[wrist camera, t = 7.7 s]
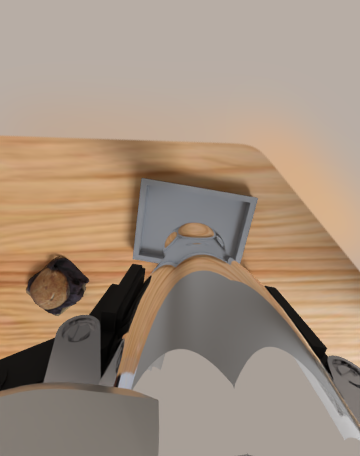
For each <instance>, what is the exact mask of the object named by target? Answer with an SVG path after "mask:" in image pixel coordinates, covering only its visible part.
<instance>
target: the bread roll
mask: <svg viewBox="0 0 360 456" xmlns="http://www.w3.org/2000/svg"><path fill="white" fill-rule="evenodd" d="M88 282H89V279H88V278H87V277H86V276H85V275H83V273H82V272H81V271H79V269H77V267H76V266H75V265H74V264H73V263H72V262H71V261H70V260H68V259H66V258H60V256H59V257H56V258H55V259H53V260H52V261H51V262H50V263H49V264H48V265H46V266H45V268H44V269H43V270H42V271H40V272H39V273H37V274H35V275H34V276H33V277H32V278H30V280H29V282H28V288H27V289H26V292H27V293H28V294H29V295H30V296H31V297H32V298H33V300H34V302H35V303H36V304H37V305H39V307H41V308H43V309H44V310H45V311H47V312H48V313H52V314H54V315H55V316H59V315H60V314H62V313H63V312H64V311H65V310H66V309H68V308H69V307H70V306H72V305H74V304H76V302H77V301H79V300H80V299H81V298H82V297H83V294H84V292H85V290H86V287H85V283H88Z"/></svg>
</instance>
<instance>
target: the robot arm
mask: <svg viewBox="0 0 360 456" xmlns="http://www.w3.org/2000/svg"><path fill="white" fill-rule="evenodd" d="M144 276H145V268H142V265H137V264H132V265H131V267H130V268H129V270H128V271H127V273H126V274H125V276H124V277H123V279H122V280H121V282H120V284H119V285H117V284H112V285H111V286H110V287H109V289H108V290H107V291H106V293H105V294H104V295H103V297H102V298H101V299H100V301H99V302H98V304H97V305H96V306H95V308H94V309H93V310H92V312H91V313H90V314H89V315H80V316H76V317H73V318H71V319H69V320H67V321H66V322H64V323H63V324H62V325H61V326H60V327H59V329H58V331H57V333H56V337H55V338H53V339H51V340H48V341H46V342H43V343H41V344H38V345H36V346H33V347H31V348H28V349H26V350H23V351H21V352H18V353H16V354H13V355H11V356H8V357H6V358H3V359H1V360H0V456H158V451H159V400H157V399H154V398H152V397H150V396H147V395H144V394H142V393H139V392H136V391H133V390H130V389H125V388H117V387H110V386H102V385H99V382H100V380H101V369H102V366H103V364H104V361H105V359H106V357H107V354H108V352H109V349H110V347H111V345H112V342H113V340H114V338H115V335H116V333H117V331H118V328H119V326H120V324H121V322H122V320H123V318H124V316H125V314H126V312H127V310H128V308H129V306H130V304H131V302H132V300H133V299H134V297H135V295H136V294H137V292H138V291H139V289H140V288H141V286H142V285H143V283H144ZM264 287H265V288H266V289H267V290H268V291H269V292H270V294H271V295H272V296H273V297H274V298H275V300H276V301H277V302H278V303H279V304H280V306H281V307H282V308H283V309H284V310H285V312H286V313H287V314H288V316H289V317H290V318H291V320H292V321H293V322H294V324H295V325H296V327H297V328H298V329H299V331H300V332H301V334H302V335H303V336H304V338H305V339H306V340H307V342H308V343H309V345H310V346H311V347H312V349H313V350H314V352H315V353H316V355H317V356H318V358H319V359H320V361H321V362H322V364H323V365H324V367H325V368H326V370H327V371H328V373H329V374H330V376H331V377H332V379H333V380H334V382H335V383H336V385H337V386H338V388H339V389H340V391H341V392H342V394H343V395H344V397H345V398H346V400H347V402H348V403H349V405H350V406H351V408H352V409H353V411H354V412H355V414H356V416H357V417H358V419H359V420H360V368H359V367H358V366H356V365H355V364H353V363H352V362H350V361H348V360H346V359H344V358H341V357H338V356H329V357H328V356H327V355H326V354H325V351H326V349H327V348H326V347H325V345H324V344H323V343H322V342H321V341H320V339H319V338H318V337H317V336H316V335H315V334H314V332H313V331H312V330H311V329H310V328H309V327H308V325H307V324H306V323H305V322H304V321H303V320H302V318H301V317H300V316H299V315H298V314H297V313H296V311H295V310H294V309H293V308H292V307H291V306H290V304H289V303H288V302H287V301H286V300H285V298H284V297H283V296H282V295H281V294H280V293H279V291H278V290H277V289H276V288H274V287H268V286H264Z"/></svg>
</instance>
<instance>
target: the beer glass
mask: <svg viewBox="0 0 360 456" xmlns="http://www.w3.org/2000/svg"><path fill="white" fill-rule="evenodd" d="M99 385H102V386H110V387H117V388H125V389H130V390H133V391H136V392H139V393H142V394H144V395H147V396H150V397H152V398H154V399H157V400H159V451H158V456H360V420H359V419H358V417H357V416H356V414H355V412H354V411H353V409H352V408H351V406H350V405H349V403H348V402H347V400H346V398H345V397H344V395H343V394H342V392H341V391H340V389H339V388H338V386H337V385H336V383H335V382H334V380H333V379H332V377H331V376H330V374H329V373H328V371H327V370H326V368H325V367H324V365H323V364H322V362H321V361H320V359H319V358H318V356H317V355H316V353H315V352H314V350H313V349H312V347H311V346H310V345H309V343H308V342H307V340H306V339H305V338H304V336H303V335H302V334H301V332H300V331H299V329H298V328H297V327H296V325H295V324H294V322H293V321H292V320H291V318H290V317H289V316H288V314H287V313H286V312H285V310H284V309H283V308H282V307H281V306H280V304H279V303H278V302H277V301H276V300H275V298H274V297H273V296H272V295H271V294H270V292H269V291H268V290H267V289H266V288H265V287H264V286H263V285H262V284H261V283H260V282H259V281H258V280H257V279H256V278H255V277H254V276H253V275H252V274H251V273H250V272H249V271H248V270H247V269H245V268H244V267H243V266H242V265H240V264H239V263H238V262H237V261H235V260H234V259H233V258H232V257H230V256H229V255H228V254H226V249H225V244H224V241H223V239H222V237H221V236H220V234H219V233H218V232H217V231H216V230H215V229H213V228H212V227H210V226H208V225H206V224H203V223H198V222H189V223H185V224H182V225H179V226H177V227H176V228H174V229H173V230H172V231H171V232H170V233H169V234H168V235H167V237H166V238H165V240H164V243H163V246H162V261H161V262H160V263H159V264H158V265H157V267H156V268H155V269H154V270H153V271H152V273H151V274H150V275H149V276H148V278H147V279H146V281H145V282H144V283H143V285H142V286H141V288H140V289H139V291H138V292H137V294H136V295H135V297H134V299H133V300H132V302H131V304H130V306H129V308H128V310H127V312H126V314H125V316H124V318H123V320H122V322H121V324H120V326H119V328H118V331H117V333H116V335H115V338H114V340H113V342H112V345H111V347H110V349H109V352H108V354H107V357H106V359H105V361H104V364H103V366H102V369H101V380H100V382H99Z"/></svg>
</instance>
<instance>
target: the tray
mask: <svg viewBox="0 0 360 456" xmlns="http://www.w3.org/2000/svg"><path fill="white" fill-rule="evenodd" d="M257 200H258V198H256V197H250V196H245V195H239V194H233V193H227V192H221V191H216V190H210V189H204V188H198V187H192V186H187V185H181V184H175V183H169V182H163V181H158V180H152V179H146V178H142V179H141V188H140V197H139V206H138V216H137V225H136V234H135V243H134V252H133V259H136V260H142V261H148V262H154V263H160V262H161V261H162V246H163V243H164V240H165V238H166V237H167V235H168V234H169V233H170V232H171V231H172V230H173V229H174V228H176V227H177V226H179V225H182V224H185V223H189V222H198V223H203V224H206V225H208V226H210V227H212V228H213V229H215V230H216V231H217V232H218V233H219V234H220V236H221V237H222V239H223V241H224V244H225V249H226V254H228V255H229V256H230V257H232V258H233V259H234V260H235V261H237V262H238V263H239V264H240V262H241V258H242V255H243V251H244V247H245V244H246V240H247V236H248V233H249V229H250V225H251V222H252V218H253V214H254V211H255V207H256V203H257Z"/></svg>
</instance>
